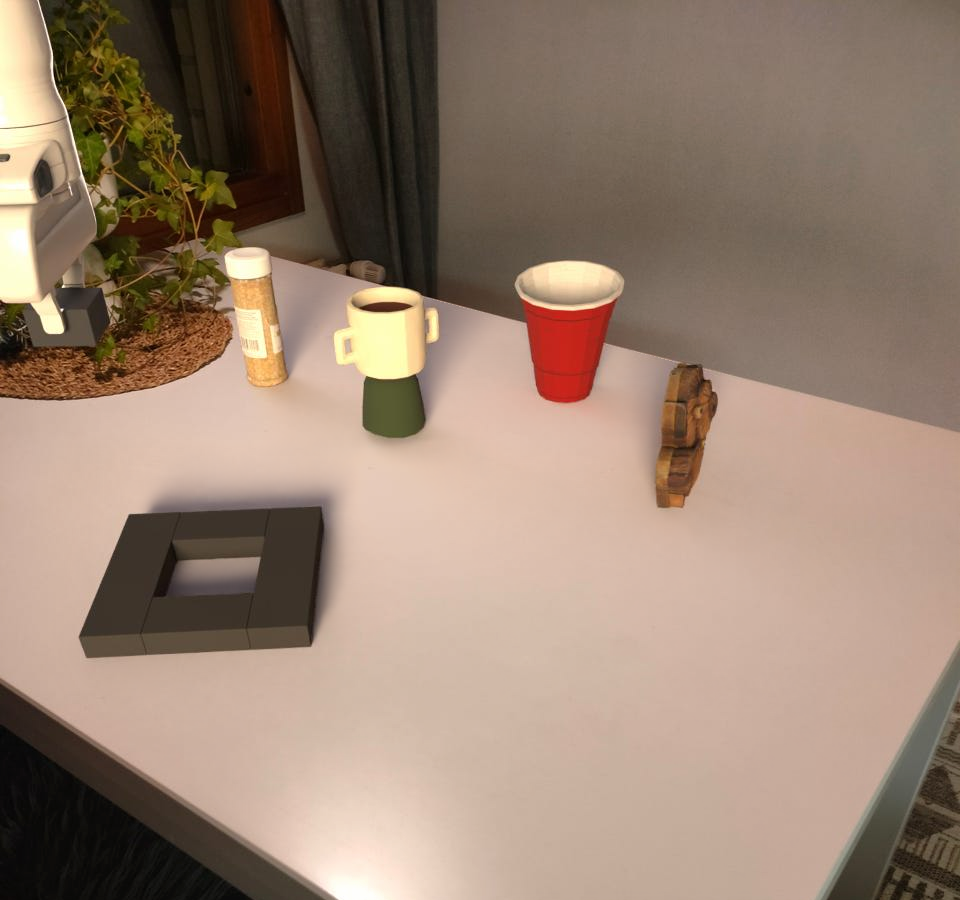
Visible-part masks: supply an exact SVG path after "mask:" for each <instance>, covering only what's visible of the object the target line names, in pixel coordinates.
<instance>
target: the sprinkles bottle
mask: <svg viewBox="0 0 960 900" xmlns="http://www.w3.org/2000/svg"><path fill="white" fill-rule="evenodd" d="M224 263H225V270H226V274H227V275H228V279H229V281H230V288H231V293H232V298H233V308H234V313H235V319H236V325H237V329H238V335H239V341H240V345H241V351H242V353H243V357H244V363H245V368H246V379H247V381H248V383H250V384H252V385H254V386H259V387H271V386H276V385H278V384H279V385H280V384H281V383H283V382H285V381H286V380H287V379H288V376H289V372H288V369H287V365H286V358H285V353H284V352H285V351H284V344H283V337H282V332H281V326H280V319H279V312H278V306H277V304H276V298H275V291H274V283H273V278H272V275H273V273H272V272H273V263H272V258H271V253H270V251H269V250H267V249H265V248H263V247H256V246H250V247H249V246H246V247H239V248H234V249H231V250H230V251H228V252H227V253H225V254H224Z"/></svg>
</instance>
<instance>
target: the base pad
mask: <svg viewBox="0 0 960 900" xmlns="http://www.w3.org/2000/svg"><path fill="white" fill-rule="evenodd" d="M324 531H325V522H324V515H323V507H322V505H317V506H316V505H315V506H294V507H293V506H291V507H289V506H288V507H271V508H269V507H268V508H243V509H242V508H241V509H222V510H195V511H172V512H171V511H169V512H146V513H129V514H128V515H127V518H126V520H125V522H124V525H123V527H122V529H121V532H120V535H119V537H118V540H117V542H116V545H115V547H114V549H113V552H112V553H111V554H112V555H111V556H110V559H109V562H108V564H107V567H106V569H105V571H104V574H103V576H102V579H101V581H100V583H99V586H98V589H97V590H96V593H95V595H94V598H93V600H92V603H91V605H90V608H89V611H88V613H87V615H86V617H85V620H84V622H83V625H82V627H81V631H80V632H79V635H78V640H79V642H80V646H81V648H82V651H83V652H84V656H85V658H86V659H96V658H119V657H136V656H137V657H138V656H139V657H140V656H152V655H153V656H155V655H156V656H157V655H172V654H173V655H174V654H176V655H177V654H195V653H197V654H198V653H216V652H217V653H218V652H234V651H235V652H236V651H250V650H252V651H253V650H275V649H297V648H311V647H312V641H313V631H314V624H315V623H314V622H315V614H316V605H317V604H316V603H317V596H318V586H319V576H320V567H321V559H322V549H323V539H324ZM239 558H241V559H242V558H243V559H245V558H260V559H259V563H258V569H257V574H256V580H255V585H254V590H253V592H240V593H237V592H236V593H218V594H217V593H216V594H195V595H173V596H167V593H168V590H169V587H170V584H171V580H172V576H173V573H174V571H175V567H176V564H177V561H194V560H195V561H196V560H197V561H198V560H217V559H218V560H219V559H239Z"/></svg>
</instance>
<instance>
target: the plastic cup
mask: <svg viewBox="0 0 960 900" xmlns="http://www.w3.org/2000/svg"><path fill="white" fill-rule="evenodd" d="M625 281H626V280H625V279H624V278H623V276H622V275H621V273H620V272H619V271H617V270H615V269H613V268H611V267H609V266H608V265H604V264H602V263H597V262H592V261H589V260H588V261H587V260H571V259H570V260H569V259H565V260H556V261H547V262H543V263H540V264H536V265H534V266H531V267H529V268H527V269H525V270H524V271H523V272H521V273H519V274H518V275H517V278H516V280H515V282H514V287H515V290H516V293H517V294H518V295H519V298H520V301H521V304H522V308H523V313H524V315H525V322H526V330H527V336H528V342H529V351H530V358H531V362H532V365H533V374H534V381H535V382H534V383H535V386H536V389H537V393H538V394H539V396H540V397H542V398H543V399H545V400H546V401H547V400H548V401H550V402H554V403H562V404H563V403H564V404H569V403H578V402H580V401H583V400H585V399H587V398H588V397H589V396H590V395H591V391H592V390H593V386H594V382H595V378H596V373H597V370H598V368H599V364H600V362H601V357H602V353H603V349H604V346H605V341H606V338H607V337H606V336H607V332H608V328H609V324H610V321H611V318H612V315H613V313H614V309H615V307H616V304H617V303H616V302H617V300H618V299H619V296H621V295H622V293H623V291H624V286H625Z"/></svg>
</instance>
